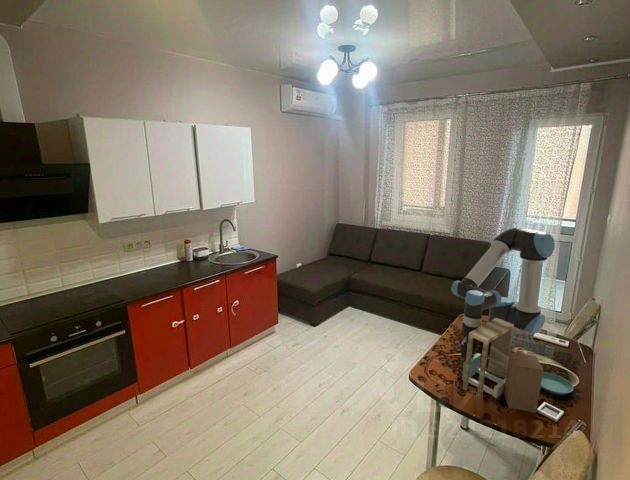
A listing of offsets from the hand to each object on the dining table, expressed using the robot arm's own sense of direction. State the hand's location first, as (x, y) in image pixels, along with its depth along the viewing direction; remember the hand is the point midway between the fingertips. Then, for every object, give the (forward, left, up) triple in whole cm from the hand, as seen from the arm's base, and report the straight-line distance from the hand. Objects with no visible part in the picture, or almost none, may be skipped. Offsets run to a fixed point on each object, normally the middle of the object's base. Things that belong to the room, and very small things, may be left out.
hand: (466, 369), depth 161 cm
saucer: (-22, +28, -3) cm, 36 cm away
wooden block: (+1, +24, -2) cm, 24 cm away
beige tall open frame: (0, +9, -2) cm, 9 cm away
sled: (0, +9, -2) cm, 10 cm away
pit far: (-3, +34, -2) cm, 34 cm away
